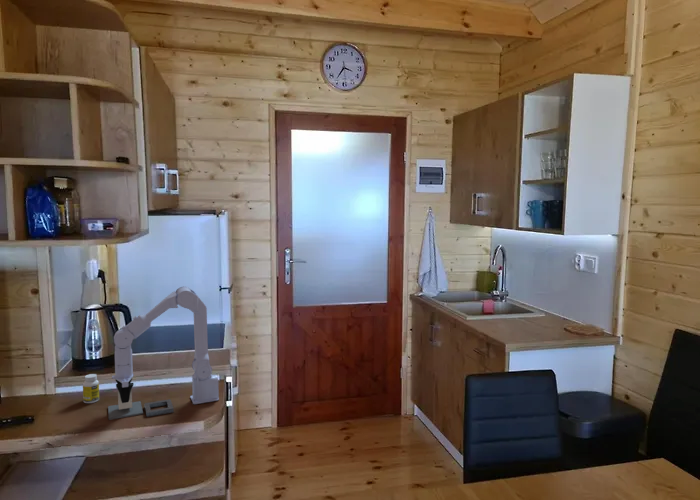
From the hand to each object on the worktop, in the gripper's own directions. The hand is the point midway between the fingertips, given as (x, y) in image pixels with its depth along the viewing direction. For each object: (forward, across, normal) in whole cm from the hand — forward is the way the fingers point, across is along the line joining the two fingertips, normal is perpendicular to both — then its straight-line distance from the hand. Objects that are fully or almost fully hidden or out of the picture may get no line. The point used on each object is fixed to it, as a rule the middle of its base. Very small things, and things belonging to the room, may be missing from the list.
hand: (124, 399), depth 178 cm
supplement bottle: (+4, -15, -11) cm, 19 cm away
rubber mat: (+4, 0, 0) cm, 4 cm away
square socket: (+4, +4, +11) cm, 12 cm away
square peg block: (+2, 0, 0) cm, 2 cm away
